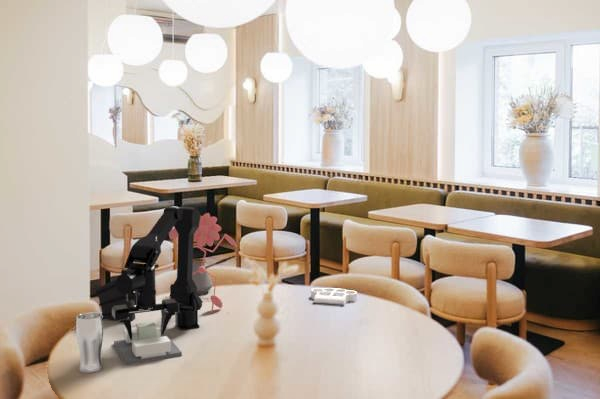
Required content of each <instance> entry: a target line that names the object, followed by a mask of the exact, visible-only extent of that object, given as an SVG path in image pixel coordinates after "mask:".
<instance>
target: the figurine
mask: <svg viewBox="0 0 600 399" xmlns="http://www.w3.org/2000/svg"><path fill="white" fill-rule="evenodd" d="M217 222H218V218H217V217H216V216H211V214H210V213H209V212H207V213H204V214H203V215H201V218H200V222H199V227H198V229H197V230H196V232H195V233H194V241H193V243H194V242H195V243H196V244H197V245H193V249H194V248H197V249H200V251H202V252H204V254H203V258H202V259H203V262H202V266H200V267H199V268H198V271H196V272H199V273H204V272H205V271H206V270H207V269H206V270H205V267H206V266H205V265H204V266H205V267H204V266H203V263H204V259H205V260H206V255H207V252H210V253H214V252H215V251H216V249H218V247H219V245H220V244H221V243H223V241H224V239H225V240H226V241H227V242H228V243H229V244H230V245H231V246H234V248H236V249H237V248H238V244H237V242H236V241H235V239H234V238H232V237H231V236H230V235H228V234H227V233H224V235H223V237H221V236H220V233H219V232H221V231H222V227H221V226H220V225H219V224H217ZM168 237H169V239H170V241H172V240H174V239H176V238H178V233H177V231H176V229H175V227H173V228H172V230H171V231H170V233H169V234H168ZM220 238H221V239H220ZM215 241H219V242H218V243H217V244H216V246H215V247H214V249H212V250H211V249H208V248H205V247H204V246H205V245H206V246H208V247H212V246H214V242H215ZM196 272H194V273H193V274H195V273H196ZM206 272H207V273H208V275H209V276H211V277H213V278H214V288H213V294H212V295H211V296H210V300H205V301H204V300H202V303H205V302H206V303H208V302H209V303H212V304H211V312H210V314H213V312H214V306H216V307H217V308H220V309H222V307H223V301H222V299H220V298H219V297H218V296H217V295H216V286H217V285H216V283H217V278H216V277H215V275H213V274H212V273H210V272H208V271H206ZM193 274H192V275H193ZM227 314H228V315H229V312H228V313H226V315H227Z"/></svg>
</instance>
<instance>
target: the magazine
mask: <svg viewBox="0 0 600 399" xmlns="http://www.w3.org/2000/svg"><path fill="white" fill-rule="evenodd" d="M115 282H116V279H114V280H112V281H111V280H110V281H109V282H107V283H105V284H103V285H101V286H98V287H97V288H95V289H94V291H95V292H94V296H96V297H97V298H98V300H99V304H98V305H99V306H100V307H101V312H100V313H101V314H102V320H103V319H111V320H110V321H116V320H115V319H114V317H113V315H112V308H113V306H116V305H124V304H126V306H127V307H128V308H129V307H135V305H134V304H133V301H128V302H127V300H126V294H122V293H120V292H119V291H118V290H117V288H116V284H115ZM129 318H130V320H131V322H132V321H134V320H135V319H136V313H134V314H129Z"/></svg>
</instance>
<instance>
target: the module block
mask: <svg viewBox="0 0 600 399" xmlns="http://www.w3.org/2000/svg"><path fill="white" fill-rule="evenodd" d="M155 324H156V323H155V322H154V321H151V322H144V323H143V322H142V323H136V324H135V325H136V326H135V327H136V329H137V340H142V339H149V338H156V337H157V326H156V325H155Z"/></svg>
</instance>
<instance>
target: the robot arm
mask: <svg viewBox="0 0 600 399" xmlns="http://www.w3.org/2000/svg"><path fill="white" fill-rule="evenodd" d="M200 212H201V211H199V209H198V208H197V207H188V206H187V207H185V206H166V207H165V208H164V209H163V213H162V214H161V216H160V217H159V218H158V220H157V221H156V223H155V224H154V226H153V227H152V228H151V230H150V231H149V232H148V234H146V235H145V236H143V237H141V238H139V239H138V240H137V241H136V242H134V244H133V245H132V246H131V248H130V250H129V252H128V253H129V254H128V255H127V258H126V261H125V264H124V266H123V267H124V268H123V269H121V272H120V273H121V274H119V275H118V276H117V277H116V279H115V280H116V282H115V284H116V288H117V290H118V291H119V292H120V293H122V294H126V300H127V302H128V301H133V304H134V307H129V308H128V307H127V306H126V304H124V305H116V306H113V308H112V315H113V317H114V319H115V320H114V321H119V322H120V323H123V324H124V327H125V328H126V330H127V332H128V335H129V338H130V340H132V329H131V328H132V321H131V320H130V318H129V314H134V313H135V314H139V313H141V314H142V313H148V312H157V311H160V313H161V321H160V329H161V335H163V334H165V332H166V329H167V326H168V325H169V322H170V321H171V319H172V317H173V316H175V317H174V318H175V321H174V322H175V326H177V328H178V329H179V330H180V331H181V330H189V329H190V330H191V329H195V328H200V325H199V319H198V318H199V316H198V312H199V310H200V311H201V309H202V307H203V302H202V301H203V300H202V298H201V297H200V296H199V294H197V286H196V285H195V283H194V281H193V279H192V268H193V259H194V248H193V246H194V242H193V241H194V233H195V232H196V230H197V229H198V227H199V222H200V218H201V216H202V215H201V213H200ZM173 228H175V229H176V231H177V233H178V237H177V239H178V241H177V265H176V266H177V267H176V269H177V270H176V279H175V281H174V282H173V283H171V284H170V288H169V289H170V292H169V298H167V299H162V300H161V303H157V302H156V301H157V297H156V296H157V290H156V269H159V267H160V266H159V264H158V263H156V262H157V261H158V258H159V257H160V255H161V253H162V247H161V246H162V245H163V242H164V241H165V240H166V238H167V237H168V236H169V233H170V231H171V230H172V229H173Z"/></svg>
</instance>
